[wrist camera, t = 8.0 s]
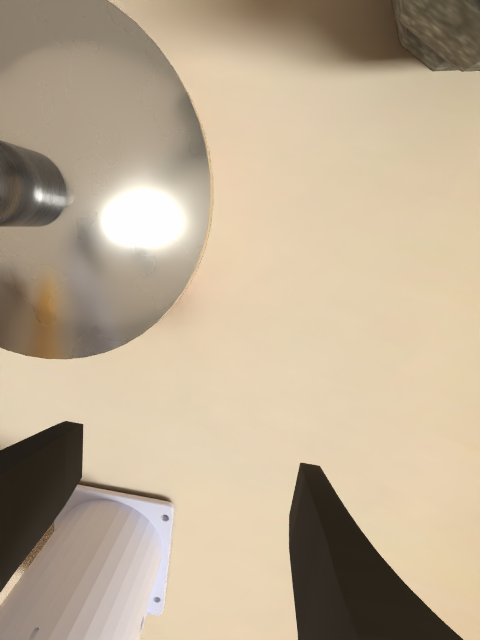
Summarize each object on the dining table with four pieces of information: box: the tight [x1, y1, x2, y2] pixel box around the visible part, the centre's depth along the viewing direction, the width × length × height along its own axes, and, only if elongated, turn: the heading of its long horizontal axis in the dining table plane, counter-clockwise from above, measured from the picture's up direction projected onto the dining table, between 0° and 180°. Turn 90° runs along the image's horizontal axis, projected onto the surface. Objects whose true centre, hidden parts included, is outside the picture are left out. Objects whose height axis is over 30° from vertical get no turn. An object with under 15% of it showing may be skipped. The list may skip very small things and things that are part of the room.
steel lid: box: [0, 0, 213, 359], centre depth 12 cm, size 14×14×5 cm
